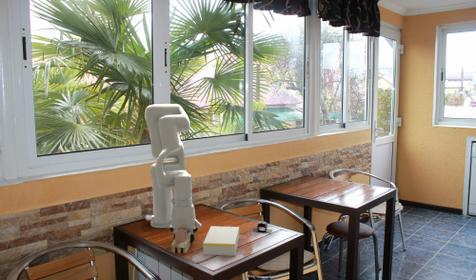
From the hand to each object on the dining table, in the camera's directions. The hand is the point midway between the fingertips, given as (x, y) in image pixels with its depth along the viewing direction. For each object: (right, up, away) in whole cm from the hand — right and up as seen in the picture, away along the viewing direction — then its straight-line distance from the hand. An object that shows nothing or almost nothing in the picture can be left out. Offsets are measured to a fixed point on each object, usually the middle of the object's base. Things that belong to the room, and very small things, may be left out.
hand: (184, 241), depth 175 cm
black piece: (+35, 0, +16) cm, 39 cm away
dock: (+17, -1, -2) cm, 17 cm away
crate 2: (0, +4, +5) cm, 6 cm away
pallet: (0, -1, 0) cm, 1 cm away
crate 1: (-1, +2, -6) cm, 6 cm away
